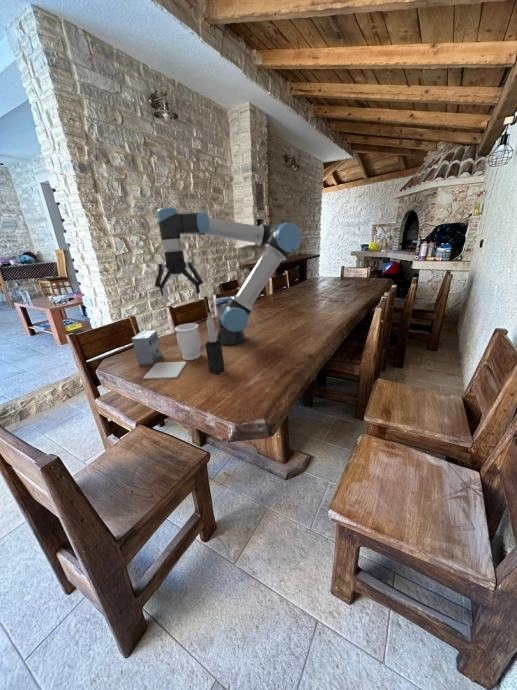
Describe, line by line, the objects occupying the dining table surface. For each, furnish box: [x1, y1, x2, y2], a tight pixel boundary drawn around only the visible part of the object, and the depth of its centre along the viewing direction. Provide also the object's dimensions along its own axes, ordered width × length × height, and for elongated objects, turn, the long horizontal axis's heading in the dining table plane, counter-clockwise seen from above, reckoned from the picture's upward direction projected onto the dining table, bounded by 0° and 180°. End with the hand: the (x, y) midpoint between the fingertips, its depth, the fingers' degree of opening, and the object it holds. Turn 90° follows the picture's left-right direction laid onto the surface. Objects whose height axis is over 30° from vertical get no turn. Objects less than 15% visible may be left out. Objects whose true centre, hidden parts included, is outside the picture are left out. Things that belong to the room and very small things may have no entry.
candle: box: [204, 312, 225, 375], centre depth 110 cm, size 5×5×25 cm
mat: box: [142, 361, 188, 380], centre depth 118 cm, size 14×14×1 cm
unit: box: [131, 329, 163, 367], centre depth 127 cm, size 8×10×13 cm
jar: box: [174, 322, 202, 361], centre depth 127 cm, size 11×10×15 cm
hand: (182, 302), depth 120 cm, fingers open, 13 cm apart
